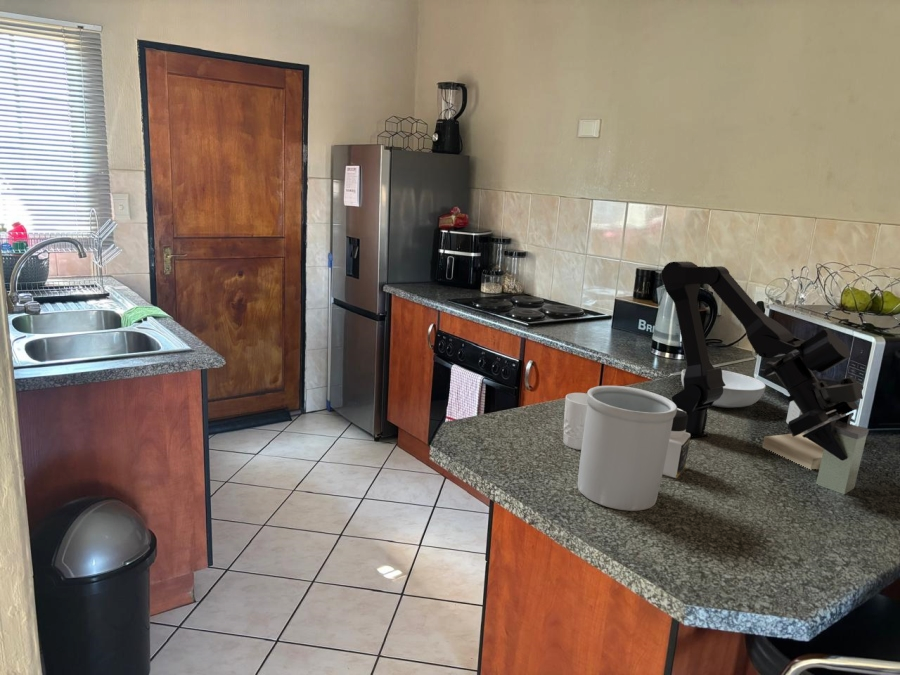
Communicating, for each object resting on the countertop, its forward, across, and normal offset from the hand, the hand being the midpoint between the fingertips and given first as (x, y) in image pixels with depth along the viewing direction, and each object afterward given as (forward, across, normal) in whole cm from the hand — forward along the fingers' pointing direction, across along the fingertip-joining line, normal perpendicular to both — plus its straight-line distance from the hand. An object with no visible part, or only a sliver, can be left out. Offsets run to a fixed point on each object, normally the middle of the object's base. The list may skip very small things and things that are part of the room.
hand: (850, 456), depth 123 cm
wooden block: (-3, +12, +13) cm, 18 cm away
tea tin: (+4, 0, +6) cm, 7 cm away
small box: (-9, +30, +19) cm, 36 cm away
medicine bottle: (-12, -23, +22) cm, 34 cm away
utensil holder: (-11, -41, +21) cm, 47 cm away
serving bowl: (-24, +30, +34) cm, 52 cm away
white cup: (-24, -29, +34) cm, 50 cm away
